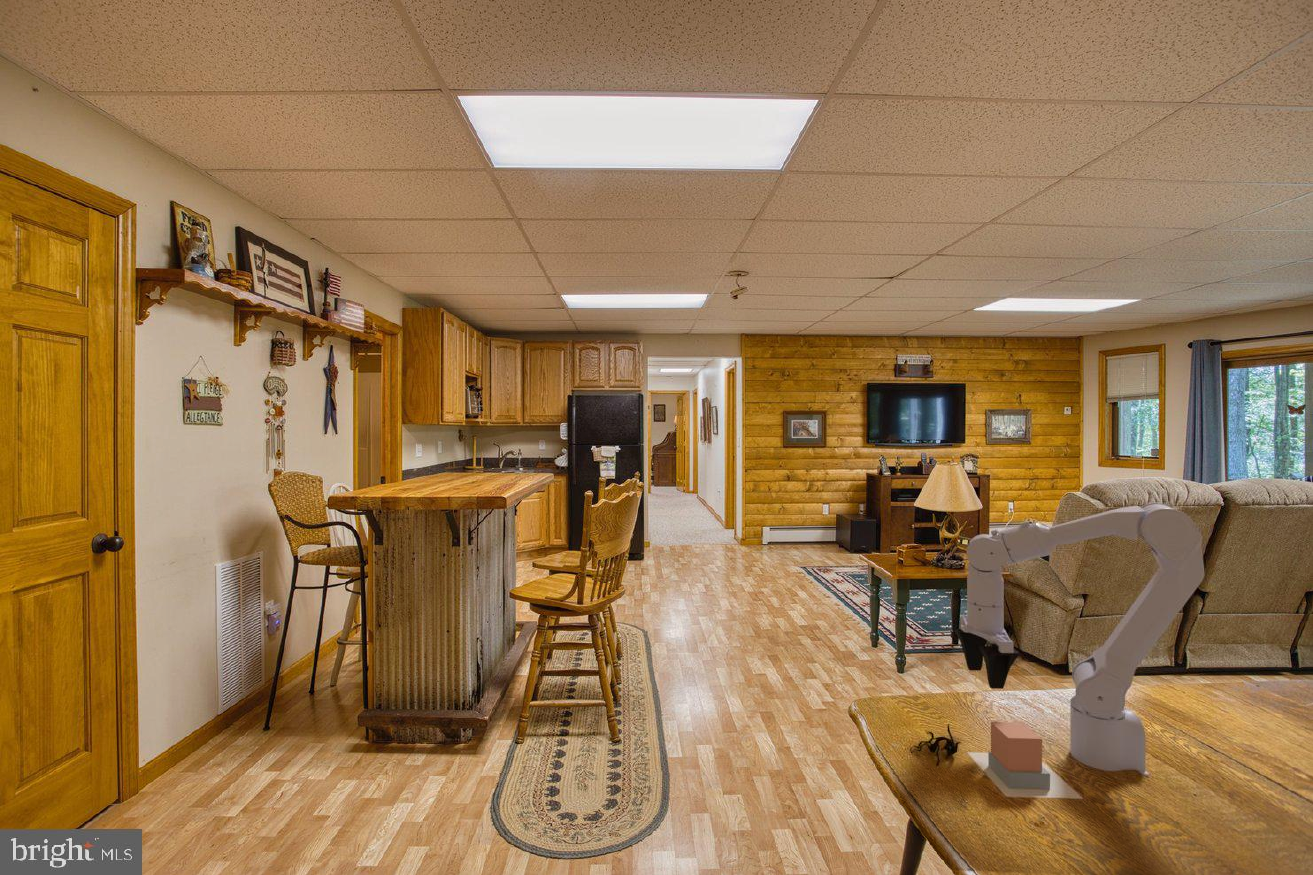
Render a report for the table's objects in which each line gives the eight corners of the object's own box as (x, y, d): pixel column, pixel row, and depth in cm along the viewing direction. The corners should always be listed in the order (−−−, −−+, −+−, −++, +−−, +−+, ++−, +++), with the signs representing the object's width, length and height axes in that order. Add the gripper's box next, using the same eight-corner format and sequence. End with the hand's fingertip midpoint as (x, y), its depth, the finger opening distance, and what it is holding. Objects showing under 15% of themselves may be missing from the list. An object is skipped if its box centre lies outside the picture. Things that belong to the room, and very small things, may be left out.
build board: (1034, 758, 98) (1034, 753, 98) (1083, 803, 86) (1083, 798, 86) (966, 757, 98) (966, 752, 98) (1006, 801, 87) (1006, 796, 87)
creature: (917, 777, 95) (969, 771, 93) (909, 744, 95) (961, 737, 94) (906, 751, 103) (953, 745, 101) (898, 720, 103) (946, 714, 101)
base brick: (1026, 766, 94) (1026, 751, 94) (1050, 789, 88) (1050, 773, 88) (988, 766, 94) (988, 751, 94) (1009, 788, 88) (1009, 772, 88)
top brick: (1022, 753, 94) (1022, 722, 94) (1042, 771, 89) (1042, 738, 89) (990, 752, 94) (990, 721, 94) (1008, 770, 89) (1008, 738, 89)
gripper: (944, 591, 112) (944, 662, 113) (983, 615, 98) (982, 696, 98) (981, 591, 112) (981, 662, 112) (1026, 615, 98) (1026, 696, 98)
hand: (985, 678), depth 105 cm, fingers open, 7 cm apart
